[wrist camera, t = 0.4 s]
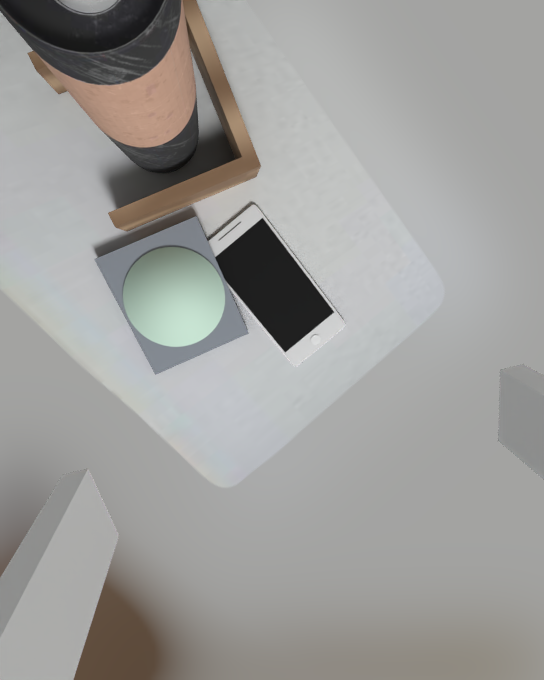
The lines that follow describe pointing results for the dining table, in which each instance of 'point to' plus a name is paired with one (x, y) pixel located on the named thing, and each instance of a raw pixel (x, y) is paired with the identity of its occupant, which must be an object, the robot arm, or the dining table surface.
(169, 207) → the mug cradle
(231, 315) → the dock pad
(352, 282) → the dining table surface
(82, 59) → the travel mug
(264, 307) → the smartphone
